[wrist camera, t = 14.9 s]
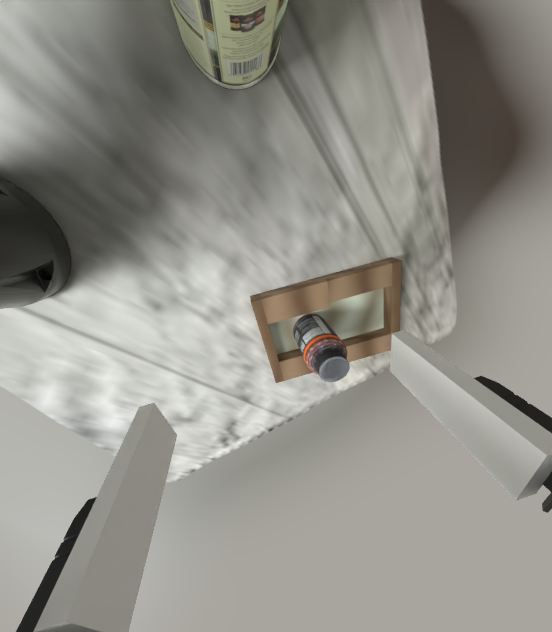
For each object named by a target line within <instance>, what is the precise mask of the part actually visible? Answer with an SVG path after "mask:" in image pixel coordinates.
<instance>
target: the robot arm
mask: <svg viewBox="0 0 552 632" xmlns="http://www.w3.org/2000/svg"><path fill="white" fill-rule="evenodd" d="M70 268H71V257H70V251H69V247H68V244H67V242H66V239H65V237H64V235H63V233H62V231H61V229H60V228H59V226H58V225H57V223H56V222H55V220H54V219H53V218H52V217H51V215H50V214H49V213H48V212H47V211H46V210H45V209H44V208H43V207H42V206H41V205H40V204H39V203H38V202H37V201H36V200H35V199H34V198H32V197H31V196H30V195H29V194H27V193H26V192H25V191H23V190H22V189H20V188H19V187H17V186H15V185H14V184H12V183H10V182H8V181H6V180H4V179H2V178H0V309H1V308H13V307H21V306H25V305H29V304H33V303H35V302H38V301H40V300H43V299H45V298H47V297H50V296H51V295H53V294H55V293H56V292H58V291H59V290H60V289H61V288H62V287H63V286H64V284H65V283H66V281H67V279H68V276H69V273H70ZM390 371H391V372H392V373H393V374H394V375H395V376H396V377H397V378H398V380H399V381H400V382H401V383H402V384H403V385H404V386H405V387H406V388H407V389H408V390H409V391H410V392H411V393H412V394H413V395H414V396H415V397H416V398H417V399H418V400H419V401H420V402H421V403H422V404H423V405H424V406H425V407H426V408H427V409H428V410H429V412H430V413H431V414H432V415H433V416H434V417H435V418H436V419H437V420H438V421H439V422H440V423H441V424H442V425H443V426H444V427H445V428H446V429H447V430H448V431H449V432H450V433H451V434H452V435H453V436H454V437H455V438H456V439H457V440H458V441H459V442H460V444H461V445H463V446H464V448H465V449H466V450H467V451H468V452H469V453H470V454H471V455H472V456H473V457H474V458H475V459H476V460H477V461H478V462H479V463H480V464H481V465H482V466H483V467H484V468H485V469H486V470H487V471H488V472H489V473H490V474H491V476H492V477H493V478H494V479H496V481H497V482H498V483H499V484H500V485H501V486H502V487H503V488H504V489H505V490H506V491H507V492H508V493H509V494H510V495H511V496H512V497H513V498H514V499H515V500H519V499H522V498H524V497H527V496H530V495H533V494H536V493H537V491H538V490H539V489H540V487H541V486H542V485H544V486H545V487H546V488H548V489H549V490H550V491H551V494H550V495H549V496H548V497H547V498H546V500H545V501H544V502H543V503H542V507H543V511H545V512H549V511H550V510H551V509H552V418H551V417H550V416H548V415H546V414H545V413H543V412H542V411H540V410H539V409H537V408H536V407H534V406H533V405H531V404H528V403H527V401H525V400H524V399H522V398H521V397H519V396H518V395H514V393H513V392H511V391H510V390H508V389H507V388H505V387H504V386H502V385H501V384H499V383H497V382H495V381H492V380H490V379H487V378H485V377H482V376H480V377H477V378H472V377H471V376H470V375H468V374H467V373H465V372H464V371H462V370H461V369H459V368H458V367H457V366H455V365H454V364H452V363H451V362H450V361H448V360H447V359H445V358H444V357H443V356H441V355H440V354H438V353H437V352H435V351H434V350H433V349H431V348H430V347H428V346H427V345H426V344H424V343H423V342H421V341H420V340H418V339H417V338H416V337H414V336H413V335H411V334H410V333H408V332H407V331H406V330H402V331H399V332H395V333H392V338H391V357H390ZM176 437H177V434H176V433H175V431H174V430H173V429H172V427H171V426H170V424H169V423H168V422H167V420H166V419H165V417H164V416H163V415H162V413H161V412H160V410H159V409H158V408H157V406H156V405H155V403H152V404H149V405H145V406H142V407H139V409H138V411H137V413H136V415H135V417H134V420H133V422H132V424H131V426H130V428H129V430H128V432H127V434H126V437H125V439H124V441H123V443H122V445H121V447H120V449H119V451H118V453H117V456H116V458H115V460H114V462H113V464H112V466H111V468H110V471H109V473H108V475H107V477H106V479H105V481H104V483H103V485H102V487H101V490H100V492H99V494H98V496H97V497H96V498H93V499H89V500H88V501H87V502H86V504H85V505H84V506H83V508H82V509H81V510H80V511H79V513H78V514H77V515H76V517H75V518H74V520H73V522H72V524H71V526H70V528H69V529H68V531H67V533H66V536H65V537H64V542H63V543H61V545H60V547H59V549H58V551H57V553H56V555H55V559H54V560H53V561H52V563H51V565H50V566H49V568H48V570H47V572H46V574H45V576H44V578H43V580H42V582H41V584H40V586H39V588H38V590H37V592H36V594H35V596H34V598H33V600H32V602H31V604H30V605H29V607H28V609H27V611H26V613H25V615H24V617H23V619H22V621H21V623H20V625H19V627H18V629H17V631H16V632H128V631H129V627H130V623H131V619H132V615H133V610H134V607H135V603H136V598H137V595H138V590H139V587H140V582H141V579H142V575H143V571H144V566H145V562H146V558H147V554H148V550H149V546H150V542H151V538H152V534H153V530H154V526H155V522H156V518H157V514H158V510H159V506H160V502H161V498H162V494H163V489H164V486H165V482H166V478H167V473H168V469H169V465H170V461H171V457H172V453H173V449H174V445H175V441H176Z"/></svg>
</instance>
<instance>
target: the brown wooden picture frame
mask: <svg viewBox="0 0 552 632" xmlns="http://www.w3.org/2000/svg"><path fill="white" fill-rule="evenodd" d="M401 271H402V261H401V260H398V259H394V258H388V259H385V260H381V261H377V262H374V263H370V264H366V265H363V266H359V267H355V268H352V269H348V270H344V271H341V272H337V273H333V274H330V275H326V276H323V277H319V278H315V279H312V280H308V281H304V282H301V283H297V284H293V285H290V286H286V287H282V288H279V289H275V290H271V291H268V292H264V293H260V294H257V295H253V296H250V298H251V304H252V307H253V310H254V313H255V317H256V320H257V323H258V326H259V329H260V333H261V336H262V339H263V342H264V346H265V349H266V352H267V355H268V358H269V362H270V365H271V368H272V371H273V374H274V378H275V381H276V383H278V382H281V381H285V380H288V379H292V378H295V377H299V376H302V375H306V374H309V373H313V372H312V371H311V370H310V369H309V368H308V367H307V365H306V363H305V361H304V358H303V356H302V354H301V352H300V349H299V347H298V345H297V343H296V340H295V338H294V335H293V328H294V325H295V323H296V322H297V320H298V319H299V318H301V317H302V316H305V315H307V314H317V315H319V316H321V317H322V318H323V319H324V320H325V321H326V322H327V323H328V325H329V326H330V327H331V328H332V329H333V331H334V332H335V333H336V334H337V336H338V337H339V338H340V339H341V340H342V342H343V343H344V344H345V346H346V349H347V360H348V362H351V361H354V360H358V359H361V358H365V357H368V356H372V355H375V354H379V353H382V352H386V351H389V350H391V338H392V333H395V332H399V330H400V300H401Z"/></svg>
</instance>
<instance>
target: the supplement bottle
mask: <svg viewBox="0 0 552 632" xmlns="http://www.w3.org/2000/svg"><path fill="white" fill-rule="evenodd" d="M293 335H294V338H295V340H296V343H297V345H298V347H299V349H300V352H301V354H302V356H303V358H304V361H305V363H306V365H307V367H308V368H309V369H310V370H311V371H312V372H314V373H316V374H319V375H320V377H321V378H322V379H323V380H324V381H327V382H336V381H338V380H340V379H342V378H344V377H345V376H346V375H347V373H348V371H349V362H348V360H347V349H346V346H345V344H344V343H343V342H342V340H341V339H340V338H339V337H338V336H337V334H336V333H335V332H334V331H333V329H332V328H331V327H330V326H329V325H328V323H327V322H326V321H325V320H324V319H323V318H322V317H321V316H319V315H317V314H307V315H305V316H302V317H301V318H299V319H298V320H297V322H296V323H295V325H294V328H293Z"/></svg>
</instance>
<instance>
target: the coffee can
mask: <svg viewBox="0 0 552 632" xmlns="http://www.w3.org/2000/svg"><path fill="white" fill-rule="evenodd" d="M170 3H171V6H172V8H173V11H174V14H175V17H176V20H177V24H178V28H179V32H180V35H181V37H182V41H183V43H184V45H185V47H186V49H187V51H188V53H189V55H190V57H191V58H192V60H193V61H194V63H195V64H196V66H197V67H198V68H199V69H200V70H201V71H202V72H203V74H204V75H205V76H207V77H208V78H209V79H210V80H211V81H213V82H214V83H216V84H218V85H220V86H222V87H225V88H229V89H232V90H234V89H245V88H249V87H251V86H253V85H255V84H257V83H258V82H259V81H260V80H262V79H263V78H264V77H265V76H266V75H267V73H268V72H269V70H270V69H271V67H272V65H273V63H274V61H275V59H276V56H277V53H278V50H279V46H280V41H281V33H282V28H283V23H284V18H285V13H286V9H287V4H288V0H170Z"/></svg>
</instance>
